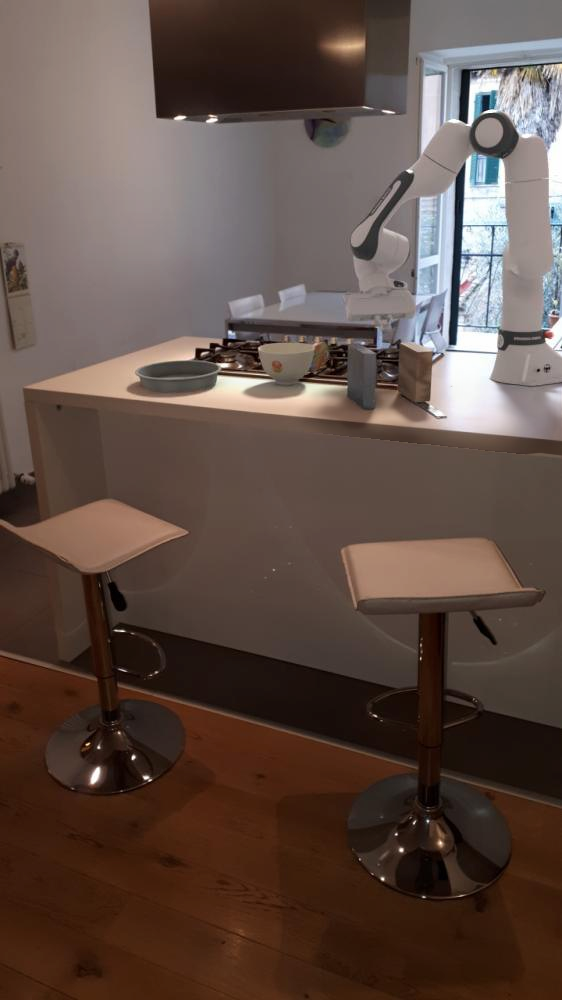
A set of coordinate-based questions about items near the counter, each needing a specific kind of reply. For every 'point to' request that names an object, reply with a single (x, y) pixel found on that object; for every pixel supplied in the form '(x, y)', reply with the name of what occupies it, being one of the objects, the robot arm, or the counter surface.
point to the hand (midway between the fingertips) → (386, 330)
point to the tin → (319, 356)
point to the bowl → (286, 361)
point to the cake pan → (178, 375)
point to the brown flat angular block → (415, 371)
